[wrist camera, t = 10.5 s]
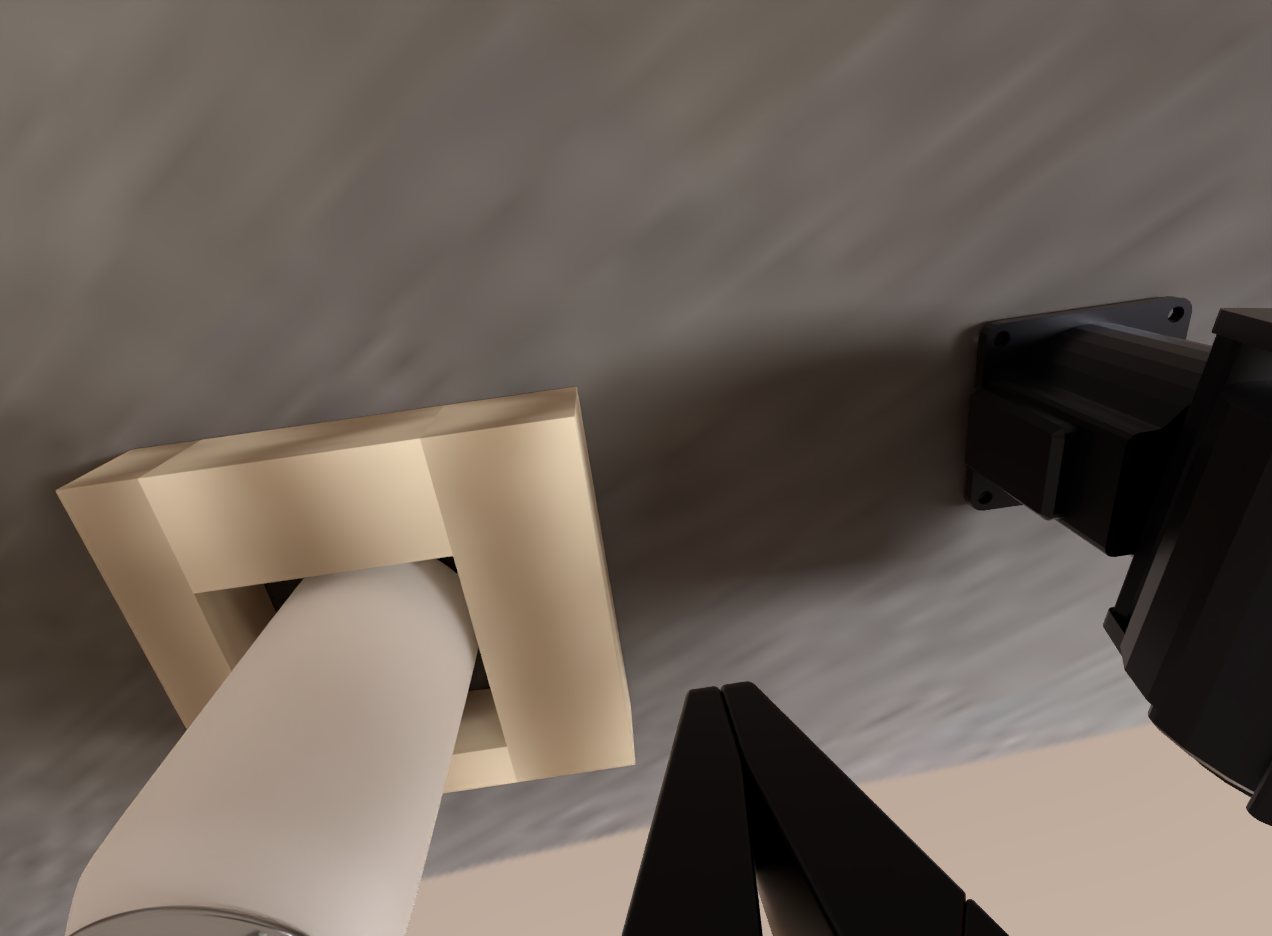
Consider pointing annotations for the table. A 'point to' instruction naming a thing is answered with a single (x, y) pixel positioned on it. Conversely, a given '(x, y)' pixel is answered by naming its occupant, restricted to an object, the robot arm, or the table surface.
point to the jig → (384, 560)
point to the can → (301, 773)
